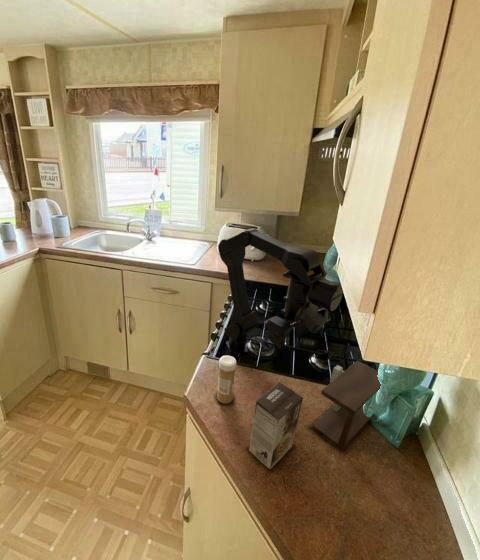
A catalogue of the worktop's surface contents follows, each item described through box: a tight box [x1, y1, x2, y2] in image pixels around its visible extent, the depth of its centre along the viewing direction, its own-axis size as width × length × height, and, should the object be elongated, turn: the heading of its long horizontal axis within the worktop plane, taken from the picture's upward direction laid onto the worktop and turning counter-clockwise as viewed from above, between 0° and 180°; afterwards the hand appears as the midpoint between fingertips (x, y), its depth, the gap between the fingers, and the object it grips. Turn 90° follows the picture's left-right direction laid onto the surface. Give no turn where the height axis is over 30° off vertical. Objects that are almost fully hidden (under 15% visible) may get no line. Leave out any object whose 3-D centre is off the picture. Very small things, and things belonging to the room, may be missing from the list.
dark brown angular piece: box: [311, 360, 381, 451], centre depth 80 cm, size 8×18×13 cm, turn 129°
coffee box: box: [248, 381, 304, 470], centre depth 71 cm, size 9×6×16 cm
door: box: [329, 364, 345, 411], centre depth 85 cm, size 5×8×10 cm, turn 129°
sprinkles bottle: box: [216, 355, 237, 404], centre depth 86 cm, size 5×5×13 cm
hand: (289, 342), depth 91 cm, fingers open, 9 cm apart
